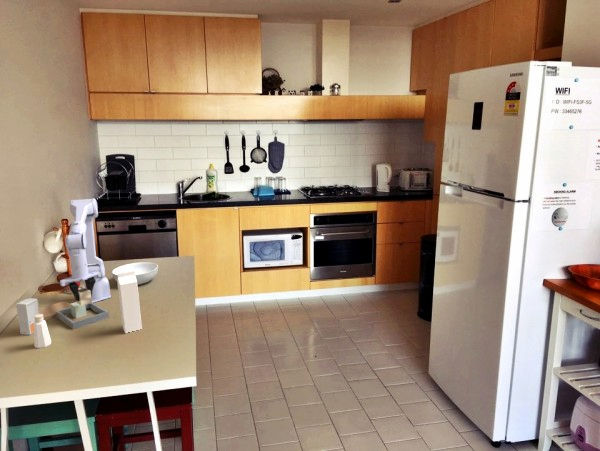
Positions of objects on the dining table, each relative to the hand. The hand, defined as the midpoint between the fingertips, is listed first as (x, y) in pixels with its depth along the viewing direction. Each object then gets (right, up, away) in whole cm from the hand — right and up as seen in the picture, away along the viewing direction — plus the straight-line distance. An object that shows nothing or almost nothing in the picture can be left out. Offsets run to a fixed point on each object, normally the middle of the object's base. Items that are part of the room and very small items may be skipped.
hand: (83, 298), depth 183 cm
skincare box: (-16, -11, -7) cm, 21 cm away
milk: (+21, -10, -7) cm, 25 cm away
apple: (-20, -2, +34) cm, 40 cm away
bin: (-2, -8, +4) cm, 9 cm away
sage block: (-5, -8, +7) cm, 11 cm away
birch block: (0, -2, 0) cm, 2 cm away
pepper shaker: (-6, -13, -18) cm, 23 cm away
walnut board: (-17, -7, +10) cm, 21 cm away
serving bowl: (+5, +1, +45) cm, 45 cm away
